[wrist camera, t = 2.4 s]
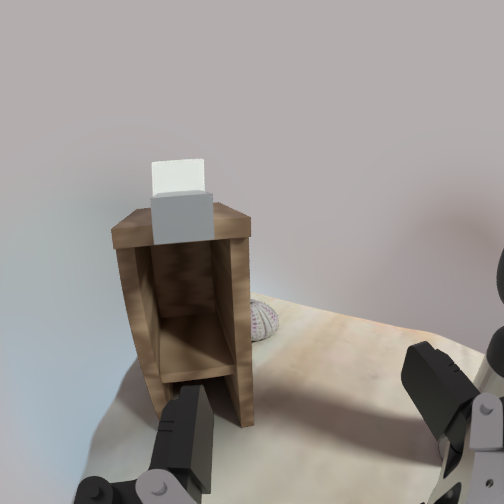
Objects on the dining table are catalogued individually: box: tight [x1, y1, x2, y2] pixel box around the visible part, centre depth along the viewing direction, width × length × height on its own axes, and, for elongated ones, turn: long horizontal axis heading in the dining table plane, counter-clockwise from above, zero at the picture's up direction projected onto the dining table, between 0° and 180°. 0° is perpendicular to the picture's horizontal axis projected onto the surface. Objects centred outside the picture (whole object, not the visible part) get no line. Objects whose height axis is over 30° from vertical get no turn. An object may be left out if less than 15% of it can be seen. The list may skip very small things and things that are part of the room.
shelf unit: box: [111, 202, 254, 428], centre depth 40 cm, size 14×21×32 cm
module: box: [150, 159, 215, 245], centre depth 27 cm, size 5×21×6 cm, turn 16°
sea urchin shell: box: [250, 299, 279, 341], centre depth 65 cm, size 13×14×8 cm
